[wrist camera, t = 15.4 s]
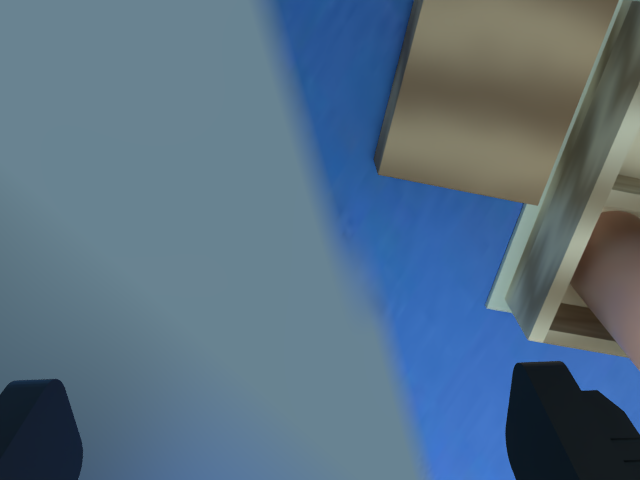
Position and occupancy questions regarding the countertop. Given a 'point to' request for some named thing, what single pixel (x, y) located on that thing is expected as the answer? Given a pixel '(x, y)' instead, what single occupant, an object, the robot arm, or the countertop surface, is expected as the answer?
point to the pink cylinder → (613, 278)
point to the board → (489, 92)
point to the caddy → (584, 198)
